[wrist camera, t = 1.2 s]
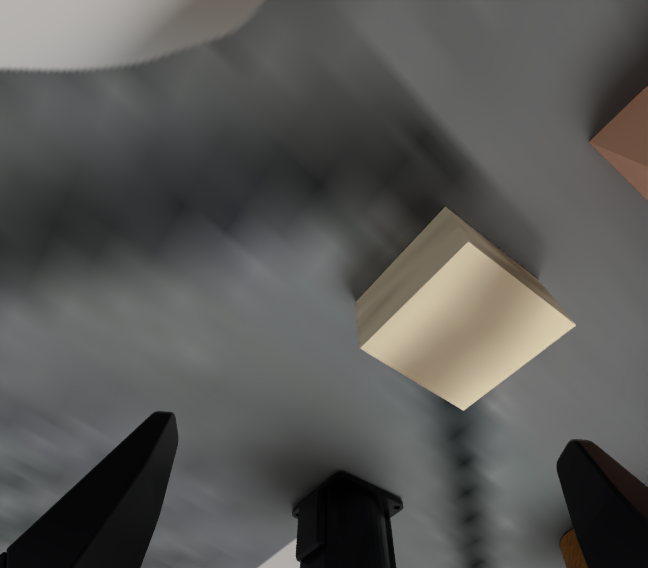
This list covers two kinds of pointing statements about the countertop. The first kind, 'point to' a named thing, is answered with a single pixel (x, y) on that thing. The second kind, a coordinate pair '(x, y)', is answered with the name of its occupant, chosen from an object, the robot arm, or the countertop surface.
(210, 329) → the countertop surface
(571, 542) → the disposable coffee cup
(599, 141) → the terracotta cube
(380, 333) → the birch block
